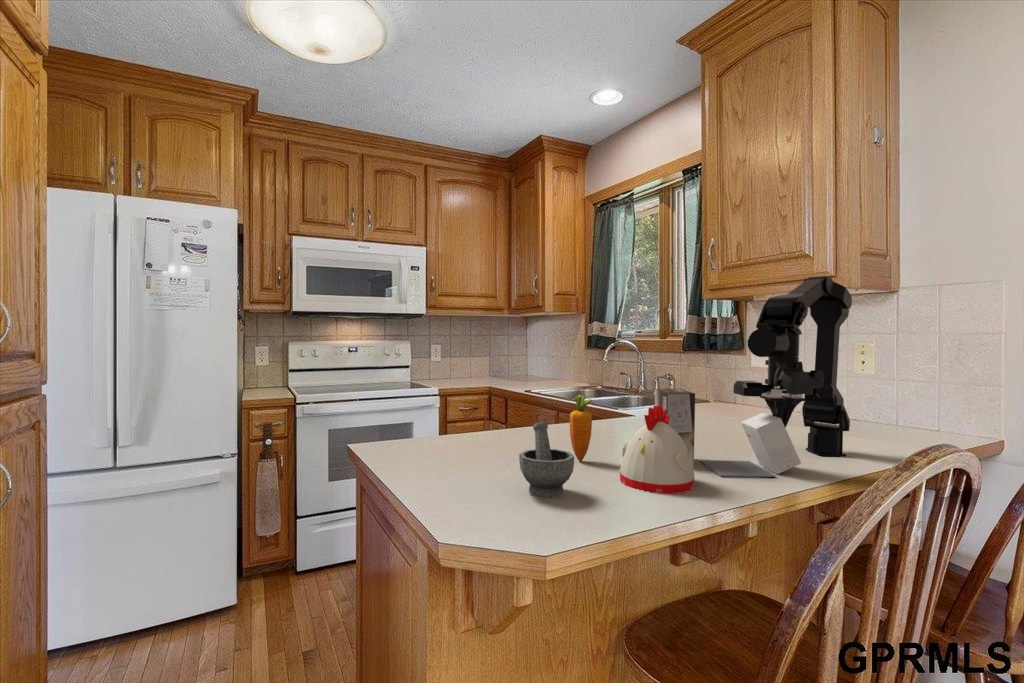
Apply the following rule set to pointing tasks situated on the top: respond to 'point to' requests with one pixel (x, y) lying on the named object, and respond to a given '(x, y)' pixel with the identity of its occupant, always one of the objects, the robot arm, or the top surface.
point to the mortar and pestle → (545, 466)
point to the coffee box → (679, 413)
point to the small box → (771, 442)
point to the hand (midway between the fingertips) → (781, 429)
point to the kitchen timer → (657, 457)
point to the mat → (736, 468)
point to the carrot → (580, 428)
